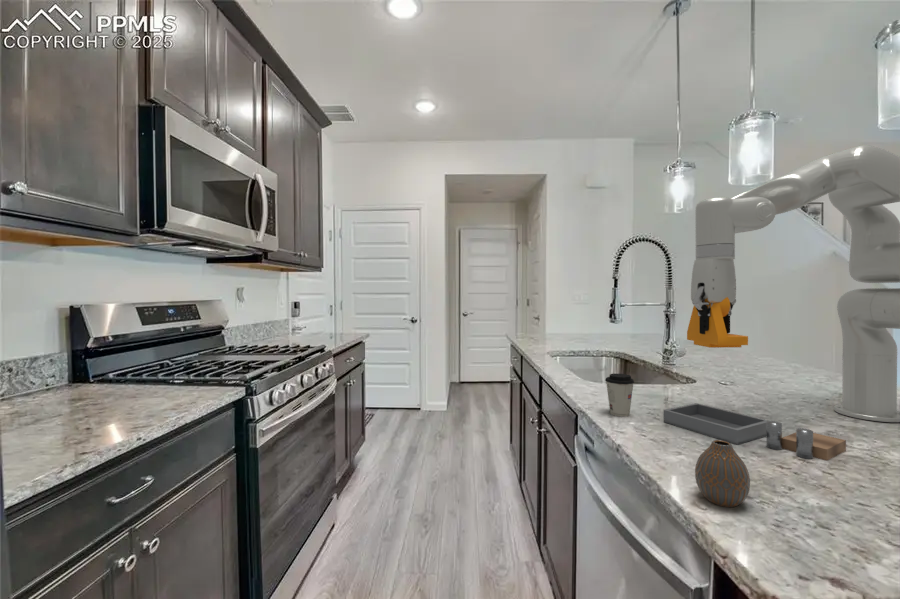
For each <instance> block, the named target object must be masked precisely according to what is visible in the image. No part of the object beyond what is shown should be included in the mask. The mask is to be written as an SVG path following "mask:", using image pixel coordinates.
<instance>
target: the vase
mask: <svg viewBox="0 0 900 599" xmlns="http://www.w3.org/2000/svg"><path fill="white" fill-rule="evenodd" d="M694 476H695V477H694V478H695V482H696V485H697V488H698V489H699V491H700V493H701V495H703V497H704V498H705V499H707V500H708V501H709V502H710V503H713V504H715V505H717V506H720V507H726V508H734V507H737V506H739V505H741V504H743V502H745V501H746V499H747V498H748V495H749V493H750V491H751V490H750V489H751V478H750V473H749V469H748V468H747V466H746V463H745V462H744V461H743V460H742V458H741V457H740V455H738V453H737V452H736V450H734V447H733V444H732V443H730V442H727V441H723V440H720V439H715V440H713V441H712V442H711V443H710V444H709V446H708V447H707V448H706V449H705V450H704V451H703V452H702V453H701V454H700V455H699V456H698V458H697V461H696V463H695V468H694Z"/></svg>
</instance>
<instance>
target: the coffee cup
mask: <svg viewBox="0 0 900 599" xmlns="http://www.w3.org/2000/svg"><path fill="white" fill-rule="evenodd" d="M604 381H605V382H606V390H607V396H608V397H607V398H608V406H609V413H610V415H612V416H615V417H621V418H622V417H624V418H625V417H629V416H631V415H630V414H631V407H632V406H631V404H632V398H633V390H634V384H635V380H634V379H633V378H632V375H630V374H625V373H610V374H609V376H607V377H606V378H605V380H604Z"/></svg>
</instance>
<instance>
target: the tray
mask: <svg viewBox="0 0 900 599" xmlns="http://www.w3.org/2000/svg"><path fill="white" fill-rule="evenodd" d="M767 421H770V420H768V419H763V418H760V417H756V416H752V415H748V414H743V413H739V412H735V411H730V410H726V409H722V408H719V407H715V406H714V407H713V406H710V405H706V404H702V403H697V402H696V403H690V404H685V405H681V406H675V407H671V408H666V409H663V423H664V424H668V425H671V426H676V427H678V428H681V429H683V430H684V429H685V430H688V431H691V432H694V433H698V434H700V435H705V436H708V437H711V438H713V439H716V440H722V441H726V442H729V443H731V444H732V445H733V444H734V445H737V446H738V445H742V444H746V443H748V442H752V441H756V440H758V439H762V438H767Z"/></svg>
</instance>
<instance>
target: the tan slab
mask: <svg viewBox="0 0 900 599" xmlns="http://www.w3.org/2000/svg"><path fill="white" fill-rule="evenodd" d="M782 449H784V450H785V451H790V452H794V453H796V432H793V433H791V434H788V435H786V436H784V437H783V436H782ZM782 449H781V450H782ZM844 452H847V440H846V439H842V438H839V437H834V436H829V435H825V434H819V433H816V432H813V458H816V459H820V460H824V461H829V460H832V459H833V458H835V457H837V456H839V455H841V454H842V453H844Z"/></svg>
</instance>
